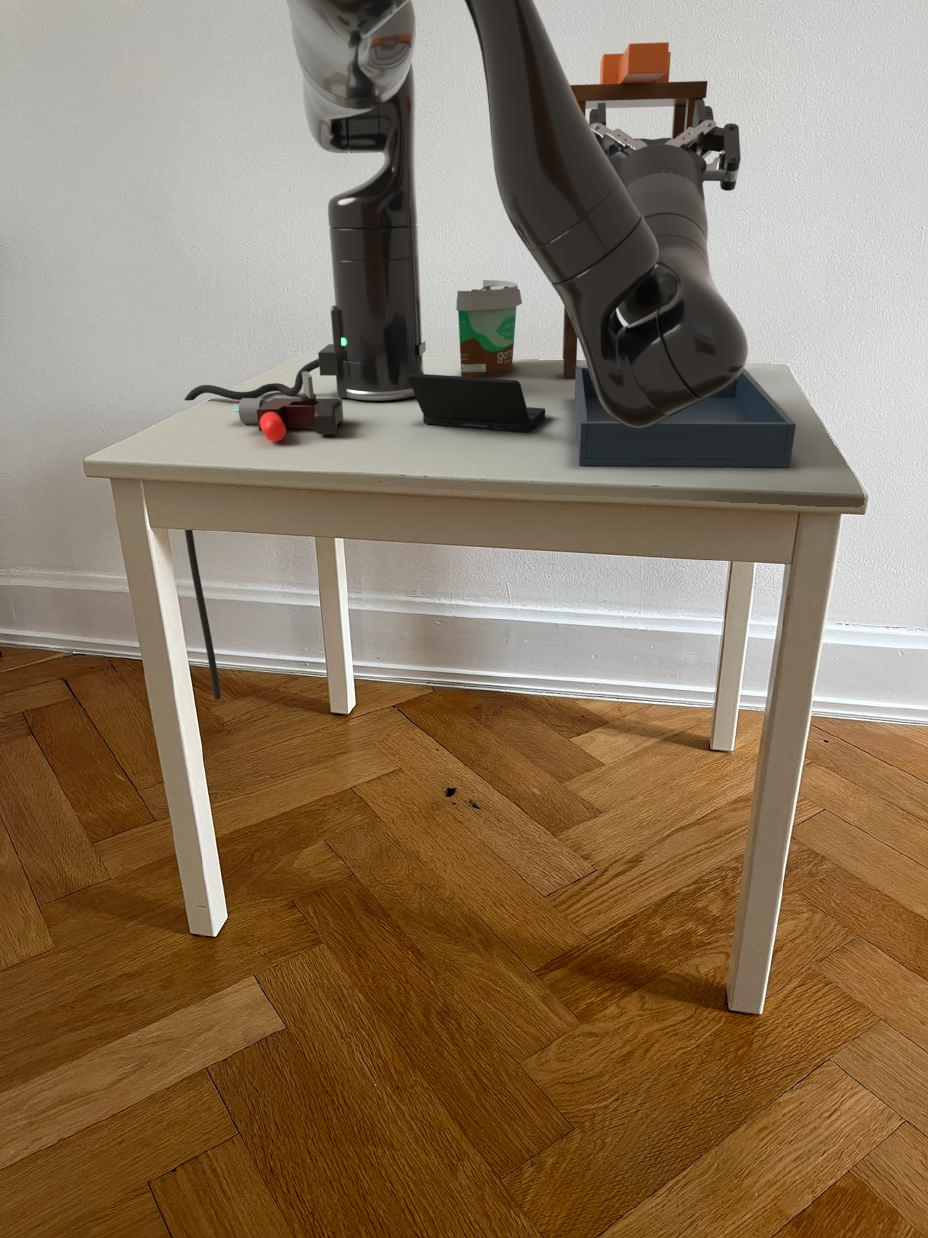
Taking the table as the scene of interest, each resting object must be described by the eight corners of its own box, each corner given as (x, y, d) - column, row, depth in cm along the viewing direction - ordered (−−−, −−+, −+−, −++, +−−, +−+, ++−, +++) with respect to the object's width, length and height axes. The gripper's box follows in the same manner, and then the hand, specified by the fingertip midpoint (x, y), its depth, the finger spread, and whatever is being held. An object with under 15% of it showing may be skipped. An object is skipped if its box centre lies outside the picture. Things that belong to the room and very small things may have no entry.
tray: (579, 465, 75) (580, 423, 74) (574, 401, 96) (575, 367, 94) (789, 467, 74) (796, 423, 72) (739, 401, 94) (743, 366, 93)
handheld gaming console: (547, 395, 91) (528, 324, 82) (545, 453, 88) (525, 386, 79) (438, 408, 94) (409, 340, 85) (432, 464, 91) (401, 401, 82)
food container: (508, 382, 105) (508, 292, 100) (457, 380, 107) (455, 291, 102) (531, 362, 116) (532, 279, 111) (484, 360, 117) (484, 279, 113)
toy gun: (240, 418, 92) (234, 370, 90) (354, 420, 90) (350, 371, 88) (202, 444, 84) (194, 392, 81) (327, 447, 82) (322, 393, 80)
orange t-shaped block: (661, 89, 102) (663, 58, 100) (685, 72, 83) (688, 33, 81) (599, 91, 102) (600, 60, 101) (608, 74, 83) (610, 35, 82)
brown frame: (561, 378, 106) (569, 84, 93) (560, 356, 119) (568, 94, 105) (681, 378, 105) (707, 80, 92) (668, 356, 117) (689, 90, 104)
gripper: (759, 172, 67) (738, 64, 76) (568, 176, 69) (569, 69, 78) (740, 260, 74) (723, 151, 83) (565, 262, 75) (567, 154, 84)
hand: (648, 111), depth 80 cm, fingers open, 8 cm apart
